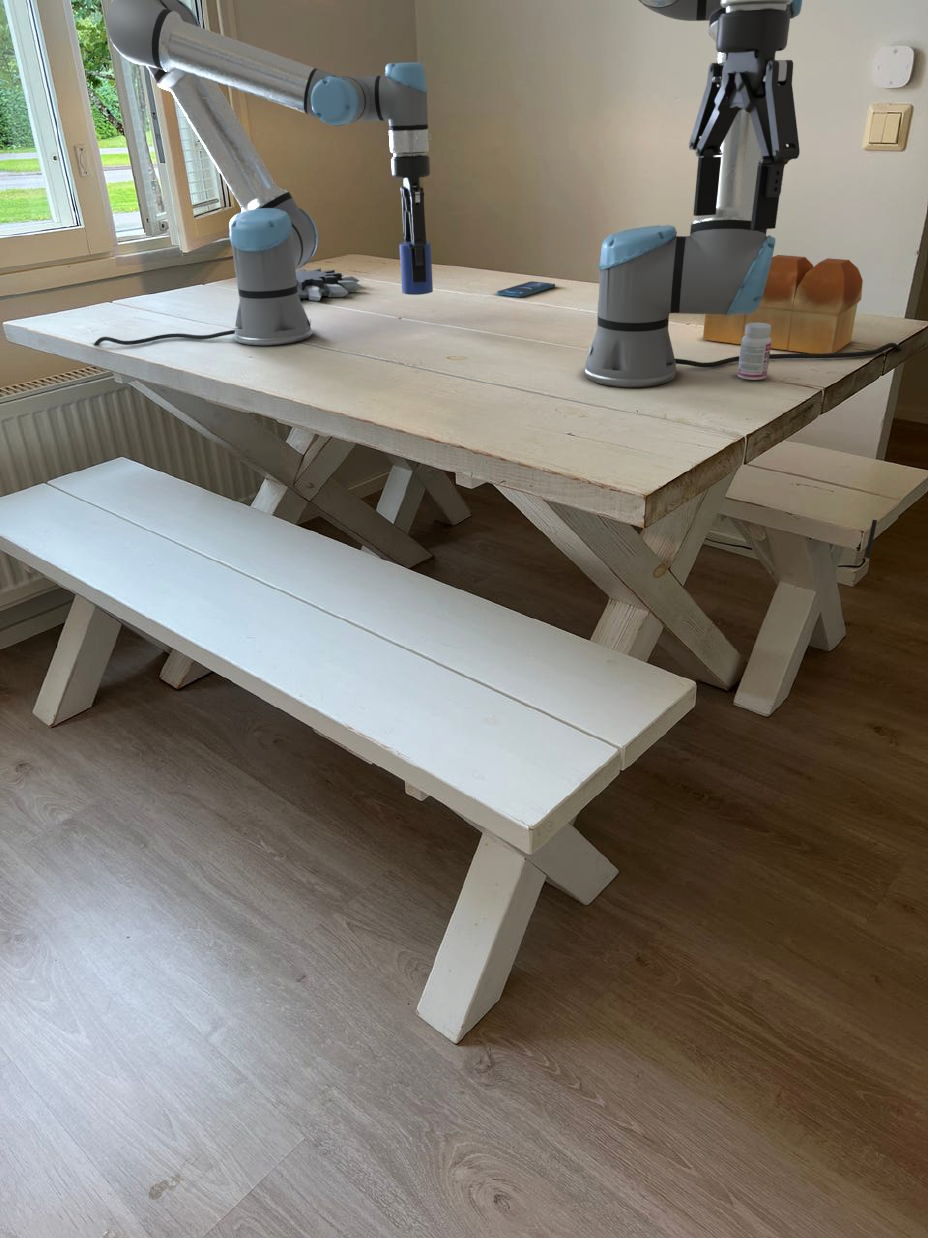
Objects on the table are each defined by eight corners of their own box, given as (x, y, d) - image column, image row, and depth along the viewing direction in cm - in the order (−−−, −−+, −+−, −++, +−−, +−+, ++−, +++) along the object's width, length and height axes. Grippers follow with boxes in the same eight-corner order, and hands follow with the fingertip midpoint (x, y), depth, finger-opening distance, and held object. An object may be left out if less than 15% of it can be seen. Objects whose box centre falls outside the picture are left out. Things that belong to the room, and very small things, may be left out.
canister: (426, 295, 192) (424, 246, 188) (397, 294, 194) (394, 245, 189) (436, 288, 198) (435, 241, 193) (408, 288, 199) (405, 240, 195)
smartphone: (494, 291, 222) (531, 280, 232) (494, 294, 222) (531, 283, 232) (521, 295, 218) (557, 283, 228) (521, 297, 218) (557, 286, 228)
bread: (700, 339, 180) (707, 257, 172) (725, 326, 188) (734, 247, 181) (832, 356, 167) (847, 268, 159) (853, 341, 175) (868, 257, 168)
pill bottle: (768, 380, 155) (775, 328, 150) (738, 380, 155) (744, 328, 151) (765, 372, 159) (772, 321, 155) (736, 372, 160) (742, 321, 155)
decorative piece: (302, 291, 211) (212, 280, 226) (304, 309, 213) (214, 296, 228) (388, 270, 232) (300, 260, 247) (389, 286, 234) (302, 276, 249)
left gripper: (438, 156, 175) (443, 285, 187) (420, 150, 192) (426, 269, 203) (398, 158, 174) (405, 288, 186) (384, 152, 191) (391, 271, 202)
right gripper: (670, 16, 111) (657, 211, 122) (788, 0, 90) (759, 237, 101) (727, 15, 113) (709, 208, 123) (856, 0, 92) (821, 232, 102)
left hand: (416, 278), depth 195 cm, fingers closed on canister, 6 cm apart
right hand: (732, 221), depth 112 cm, fingers open, 13 cm apart
